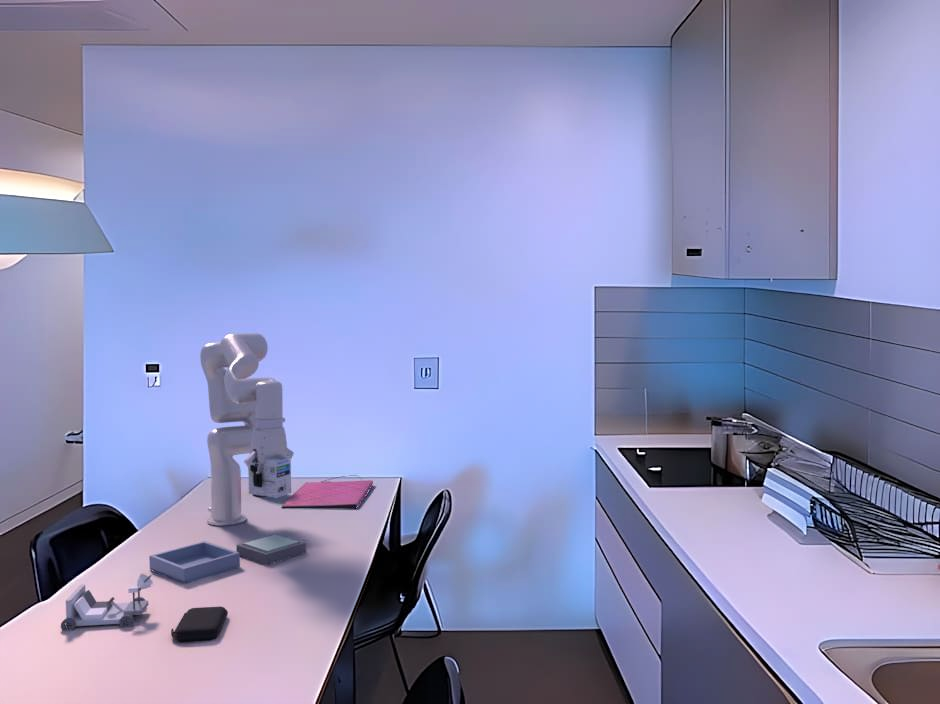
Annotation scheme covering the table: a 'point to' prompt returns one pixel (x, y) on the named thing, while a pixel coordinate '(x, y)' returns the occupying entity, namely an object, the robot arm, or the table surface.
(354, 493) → the laptop bag
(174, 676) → the table surface
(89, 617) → the toy car
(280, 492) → the light bulb box
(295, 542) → the pad
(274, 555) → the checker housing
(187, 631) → the carrying case or bag
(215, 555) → the tray
